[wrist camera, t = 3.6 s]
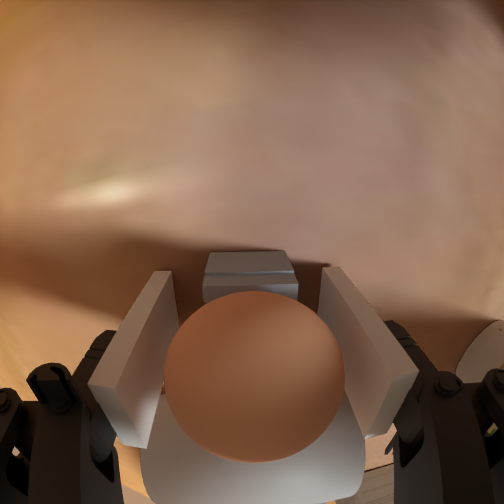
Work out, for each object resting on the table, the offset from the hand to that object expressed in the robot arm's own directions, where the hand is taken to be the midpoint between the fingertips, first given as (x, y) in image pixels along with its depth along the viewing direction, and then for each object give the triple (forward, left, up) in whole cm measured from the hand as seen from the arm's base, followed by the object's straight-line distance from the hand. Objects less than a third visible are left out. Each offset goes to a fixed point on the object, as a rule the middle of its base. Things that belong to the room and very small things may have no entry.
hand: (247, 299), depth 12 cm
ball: (0, 0, +5) cm, 5 cm away
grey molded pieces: (+13, 0, -2) cm, 14 cm away
